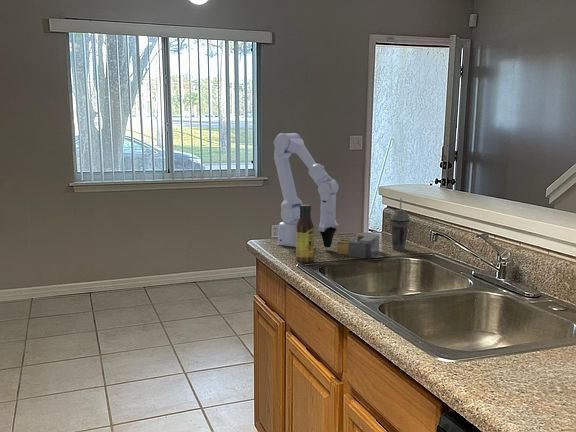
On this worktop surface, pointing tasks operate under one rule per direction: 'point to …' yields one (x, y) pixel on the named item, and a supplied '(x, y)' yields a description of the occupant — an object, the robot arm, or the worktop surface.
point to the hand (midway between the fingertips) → (327, 246)
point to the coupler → (364, 246)
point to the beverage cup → (399, 228)
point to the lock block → (343, 247)
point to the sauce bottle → (305, 235)
